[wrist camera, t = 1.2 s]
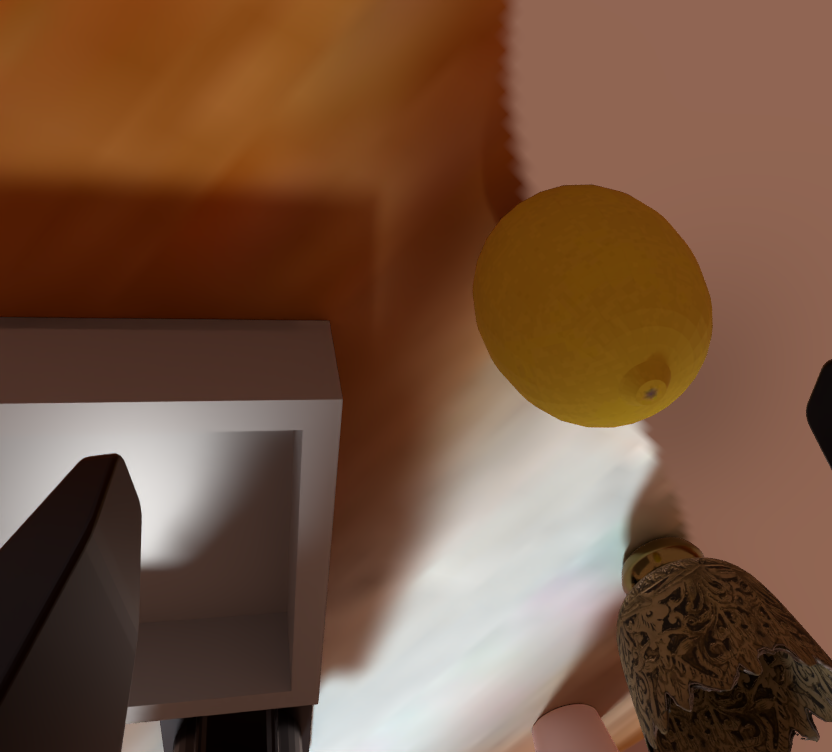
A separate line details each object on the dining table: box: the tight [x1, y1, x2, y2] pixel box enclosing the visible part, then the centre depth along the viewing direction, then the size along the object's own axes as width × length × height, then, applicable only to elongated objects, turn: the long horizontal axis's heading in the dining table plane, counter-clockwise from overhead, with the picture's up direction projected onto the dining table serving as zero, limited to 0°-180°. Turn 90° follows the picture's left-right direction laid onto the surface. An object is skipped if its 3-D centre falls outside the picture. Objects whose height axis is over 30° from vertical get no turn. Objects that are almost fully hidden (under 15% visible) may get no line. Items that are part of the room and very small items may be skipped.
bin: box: [0, 317, 343, 724], centre depth 23 cm, size 14×14×4 cm
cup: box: [617, 537, 832, 752], centre depth 29 cm, size 8×7×8 cm
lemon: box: [473, 185, 713, 427], centre depth 19 cm, size 6×6×8 cm
